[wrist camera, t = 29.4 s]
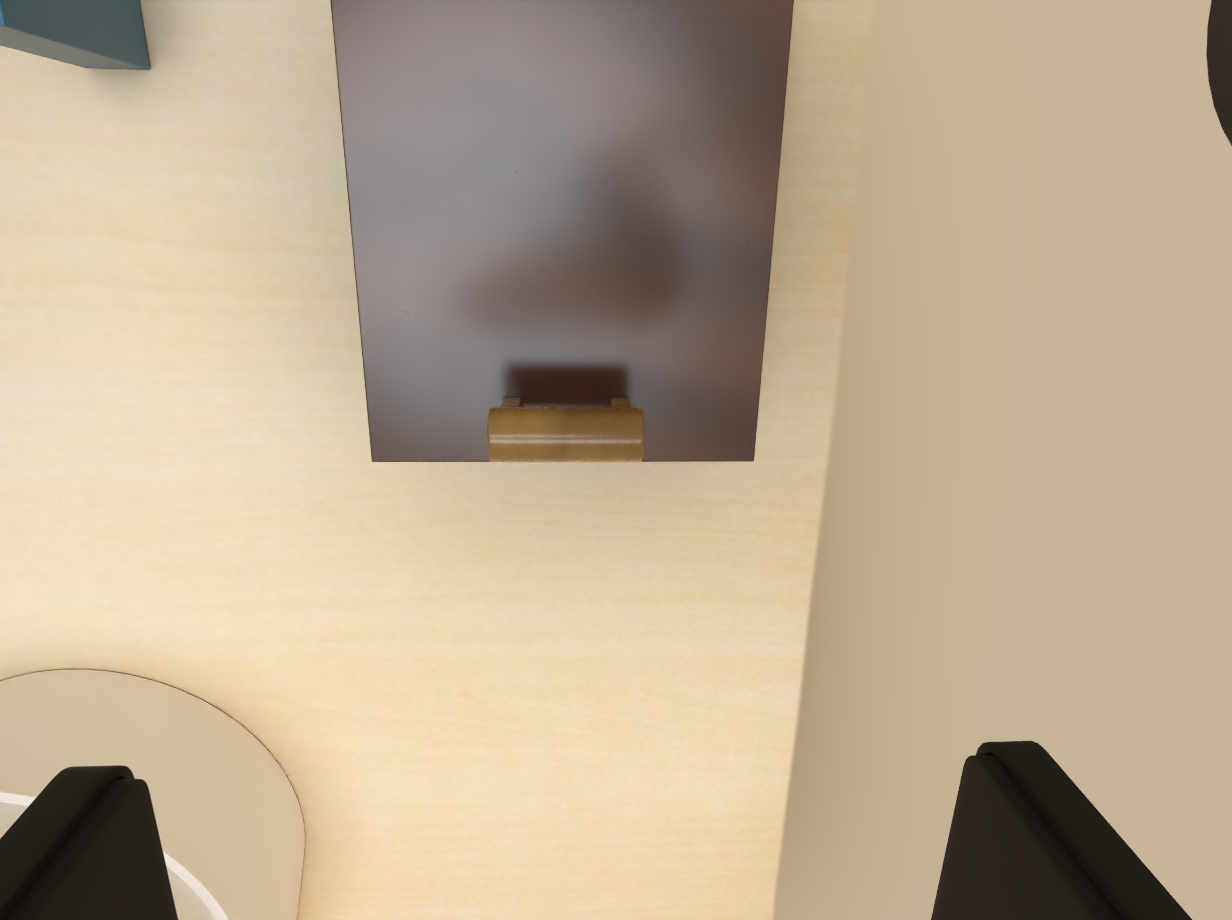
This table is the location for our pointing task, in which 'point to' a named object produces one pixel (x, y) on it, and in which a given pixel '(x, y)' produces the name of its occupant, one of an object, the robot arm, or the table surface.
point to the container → (165, 783)
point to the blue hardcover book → (77, 31)
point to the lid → (562, 223)
